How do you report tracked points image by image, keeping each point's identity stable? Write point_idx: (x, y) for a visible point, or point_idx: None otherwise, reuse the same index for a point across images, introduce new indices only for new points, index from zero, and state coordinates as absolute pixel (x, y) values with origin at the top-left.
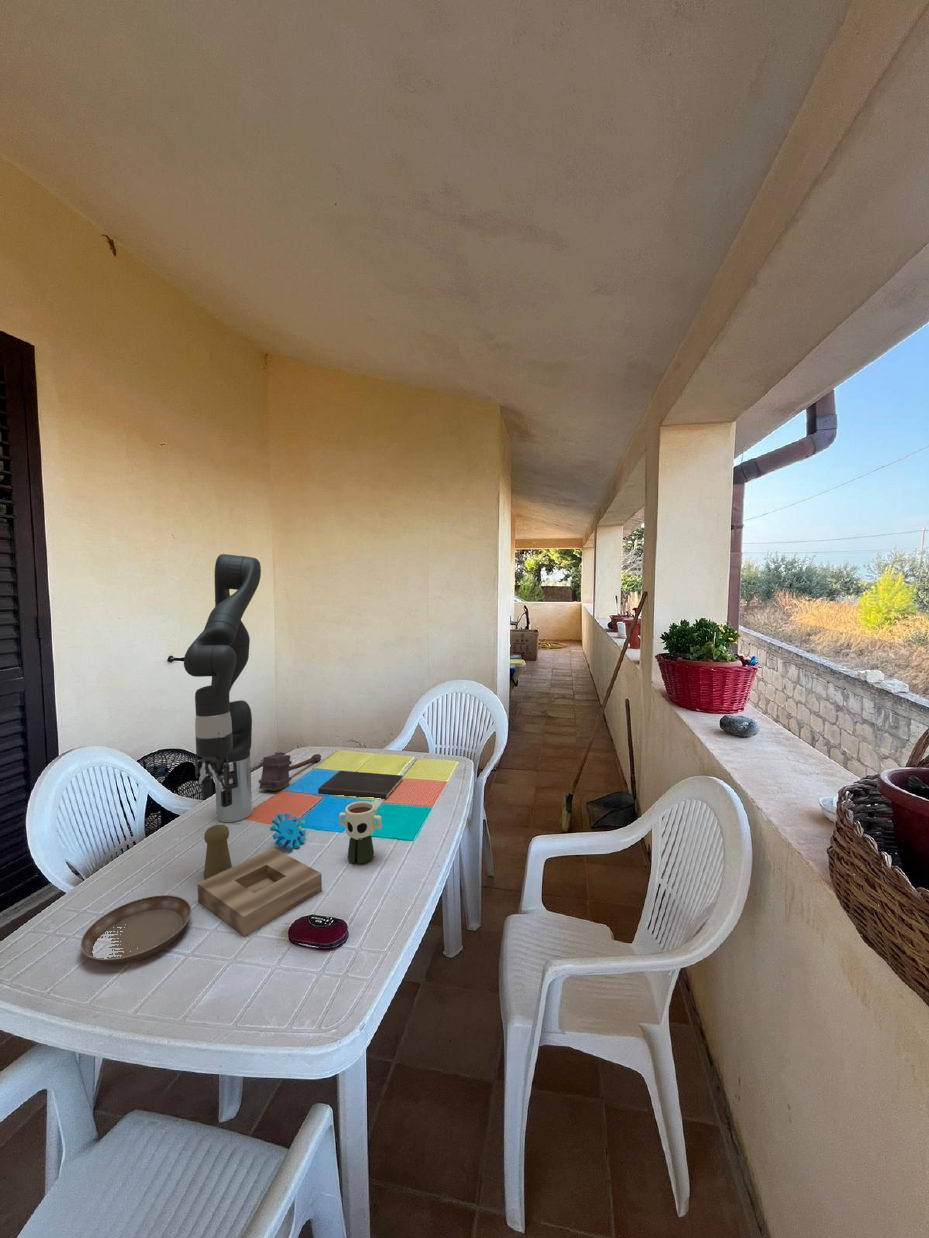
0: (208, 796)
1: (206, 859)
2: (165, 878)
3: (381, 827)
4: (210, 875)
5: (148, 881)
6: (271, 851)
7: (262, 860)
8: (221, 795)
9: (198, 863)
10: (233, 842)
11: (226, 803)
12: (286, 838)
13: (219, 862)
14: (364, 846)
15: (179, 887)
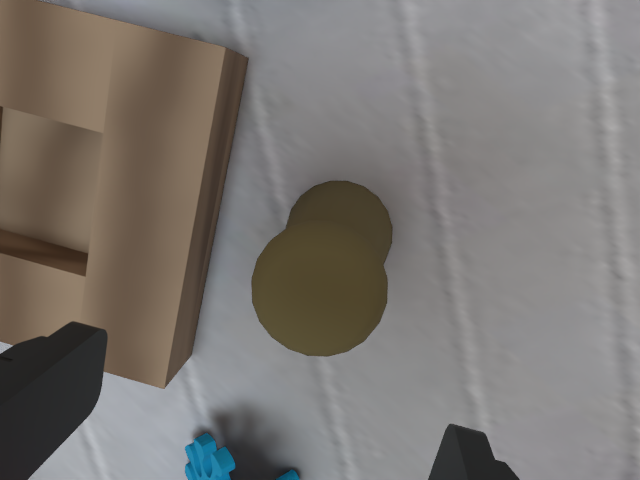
0: (435, 462)
1: (350, 207)
2: (521, 120)
3: None
4: (322, 187)
5: (577, 72)
6: (148, 362)
7: (124, 295)
8: (7, 382)
9: (478, 257)
10: (468, 427)
11: (19, 346)
12: (205, 474)
13: (289, 222)
14: None
15: (402, 96)
